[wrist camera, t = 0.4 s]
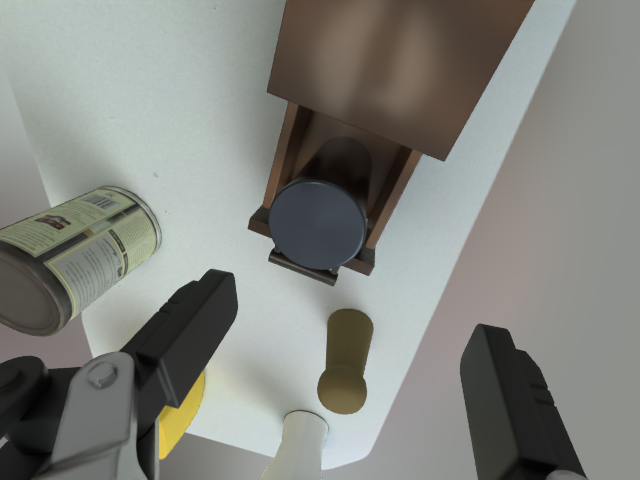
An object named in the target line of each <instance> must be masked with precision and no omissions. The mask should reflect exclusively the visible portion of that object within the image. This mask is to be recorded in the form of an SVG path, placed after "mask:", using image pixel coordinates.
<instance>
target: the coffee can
mask: <svg viewBox="0 0 640 480" xmlns="http://www.w3.org/2000/svg"><path fill="white" fill-rule="evenodd" d="M160 242H161V232H160V228H159V225H158V223H157V220H156V218H155V217H154V215H153V214H152V212H151V211H150V209H149V208H148V207H147V206H146V205H145V204H144V203H143V202H142V201H141V200H140V199H139V198H137V197H136V196H135V195H133V194H131V193H129V192H127V191H125V190H123V189H120V188H117V187H110V186H106V187H99V188H97V189H95V190H93V191H91V192H89V193H86V194H84V195H82V196H79V197H77V198H75V199H72V200H70V201H67V202H65V203H63V204H60V205H58V206H55V207H53V208H51V209H48V210H46V211H43V212H41V213H39V214H36V215H34V216H31V217H29V218H26V219H24V220H21V221H19V222H17V223H14V224H12V225H10V226H7V227H5V228H2V229H0V323H2V324H4V325H6V326H8V327H10V328H12V329H14V330H16V331H19V332H22V333H25V334H28V335H32V336H51V335H54V334H56V333H57V332H59V331H60V330H61V329H62V328H63V327H64V326H65V325H66V323H67V322H69V321H70V320H71V319H73V318H74V317H75V316H76V315H78V314H79V313H80V312H81V311H83V310H84V309H85V308H86V307H88V306H89V305H90V304H91V303H93V302H94V301H95V300H96V299H97V298H99V297H100V296H101V295H102V294H104V293H105V292H106V291H107V290H109V289H110V288H111V287H112V286H114V285H115V284H116V283H118V282H119V281H120V280H121V279H122V278H124V277H125V276H126V275H127V274H129V273H130V272H131V271H132V270H133V269H135V268H136V267H137V266H138V265H140V264H141V263H142V262H143V261H145V260H146V259H147V258H149V257H150V256H152V255H153V254H154V253H155V252H156V251H157V250H158V248H159V246H160Z"/></svg>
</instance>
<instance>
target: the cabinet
mask: <svg viewBox="0 0 640 480" xmlns="http://www.w3.org/2000/svg"><path fill="white" fill-rule="evenodd" d="M534 1H535V0H286V5H285V9H284V14H283V19H282V23H281V28H280V33H279V37H278V42H277V47H276V51H275V56H274V60H273V65H272V70H271V74H270V79H269V84H268V88H267V93H270V94H272V95H275V96H278V97H280V98H283V99H285V100H288V101H290V102H293V103H295V104H298V105H301V106H303V107H306V108H308V109H311V110H313V111H316V112H318V113H321V114H323V115H326V116H329V117H331V118H334V119H336V120H339V121H341V122H344V123H346V124H349V125H352V126H354V127H357V128H359V129H362V130H364V131H367V132H369V133H372V134H375V135H377V136H380V137H382V138H385V139H387V140H390V141H392V142H395V143H398V144H400V145H403V146H405V147H408V148H410V149H413V150H415V151H418V152H421V153H423V154H426V155H428V156H431V157H433V158H436V159H438V160H441V161H445V160H446V158H447V156H448V154H449V153H450V151H451V149H452V147H453V146H454V144H455V142H456V140H457V138H458V137H459V135H460V133H461V131H462V129H463V128H464V126H465V124H466V122H467V121H468V119H469V117H470V115H471V113H472V112H473V110H474V108H475V106H476V104H477V103H478V101H479V99H480V97H481V96H482V94H483V92H484V90H485V88H486V87H487V85H488V83H489V81H490V80H491V78H492V76H493V74H494V72H495V71H496V69H497V67H498V65H499V63H500V62H501V60H502V58H503V56H504V55H505V53H506V51H507V49H508V47H509V46H510V44H511V42H512V40H513V38H514V37H515V35H516V33H517V31H518V30H519V28H520V26H521V24H522V22H523V21H524V19H525V17H526V15H527V13H528V12H529V10H530V8H531V6H532V5H533V3H534Z"/></svg>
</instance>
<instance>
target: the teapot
mask: <svg viewBox="0 0 640 480" xmlns="http://www.w3.org/2000/svg"><path fill="white" fill-rule="evenodd" d="M203 390H204V370H203V371H202V373H201V374H200V376H199V377H198V379H197V381H196V382H195V384H194V385H193V387H192V389H191V390H190V392H189V393H188V395H187V396H186V398H185V400H184V401H183V403H182V404H181V406H180V407H179V409H176V408H173V407H169V406H166V405H165V407H164V408H163V410H162V411H161V413H160V414H159V416H158V417H159V459H164V458H165V457H166V456H167V455H168V453H169V452H170V451H171V449H172V448H173V447H174V446H175V444H176V443H177V442H178V441H179V439H180V438H181V436H182V435H183V434H184V432H185V431H186V429H187V428H188V426H189V425H190V423H191V422H192V420H193V418H194V417H195V415H196V413H197V411H198V409H199V406H200V402H201V399H202V395H203Z"/></svg>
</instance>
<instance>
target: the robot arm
mask: <svg viewBox="0 0 640 480" xmlns="http://www.w3.org/2000/svg"><path fill="white" fill-rule="evenodd" d="M237 311H238V301H237V293H236V285H235V277H234V275H233V273H230V272H225V271H220V270H215V269H210V270H208V271H207V272H206V273H205V274H204V276H203V277H202V278H201V279H200V280H199V281H194V280H193V281H191V282H190V283H188V284H186V285H185V286H183V287H181V288H179V289H178V290H177V291H176V292H175V293H174V294H173V295H172V297H171V298H170V299H169V300H168V302H166V303H165V304H164V305H163V306H162V307H161V308H160V309H159V312H156V313H155V314H154V315H153V317H152V318H151V319H150V320H149V321H148V322H147V323H146V324H145V325H144V326H143V327H142V328H141V329H140V330H139V331H138V332H137V333H136V334H135V335H134V336H133V338H132V339H131V340H130V341H129V342H128V343H127V344H126V345H125V346H124V347H123V348H122V349H121V350H120V351H119V352H110V353H106V354H103V355H100V356H98V357H96V358H94V359H92V360H91V361H89V362H88V363H86V364H85V365H84V366H82V367H76V368H75V367H74V368H58V369H47V367H46V366H45V365H44V363H43V362H42V360H41V359H39V358H38V357H35V356H23V357H18V358H14V359H11V360H8V361H6V362H3V363H1V364H0V439H2V437H3V436H4V437H5V438H6V439H7V440H8V442H6V443H5V444H4V445H3V446H2V448H1V449H0V480H159V417H158V416H159V414H160V413H161V411H162V410H163V408H164V407H165V405H166V406H169V407H173V408H176V409H179V407H180V406H181V404H182V403H183V401H184V400H185V398H186V396H187V395H188V393H189V392H190V390H191V389H192V387H193V385H194V384H195V382H196V381H197V379H198V377H199V376H200V374H201V373H202V371H203V370H204V368H205V366H206V365H207V363H208V362H209V360H210V359H211V357H212V355H213V354H214V352H215V351H216V349H217V347H218V346H219V344H220V343H221V341H222V340H223V338H224V336H225V335H226V333H227V332H228V330H229V328H230V327H231V325H232V324H233V322H234V320H235V318H236V315H237ZM460 375H461V382H462V388H463V393H464V399H465V405H466V411H467V417H468V423H469V429H470V435H471V440H472V447H473V453H474V458H475V465H476V470H477V476H478V480H588V479H587V477H586V475H585V473H584V471H583V469H582V467H581V464H580V462H579V459H578V457H577V455H576V452H575V450H574V448H573V445H572V443H571V441H570V438H569V436H568V433H567V431H566V429H565V427H564V424H563V422H562V419H561V417H560V415H559V412H558V410H557V408H556V407H555V406H554V400H553V398H552V396H551V393H550V391H548V389H547V388H548V386H547V384H546V382H545V379H544V377H543V374H542V372H541V370H540V368H539V367H538V366H537V364H536V363H535V362H534V361H533V360H532V359H531V357H530V356H529V355H528V354H527V352H526V351H522V350H518V349H516V348H515V345H514V343H513V340H512V338H511V335H510V332H509V331H508V330H507V329H504V328H500V327H494V326H490V325H484V324H478V325H477V326H476V327H475V329H474V332H473V334H472V336H471V338H470V340H469V342H468V344H467V346H466V348H465V350H464V352H463V355H462V358H461V364H460Z"/></svg>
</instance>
